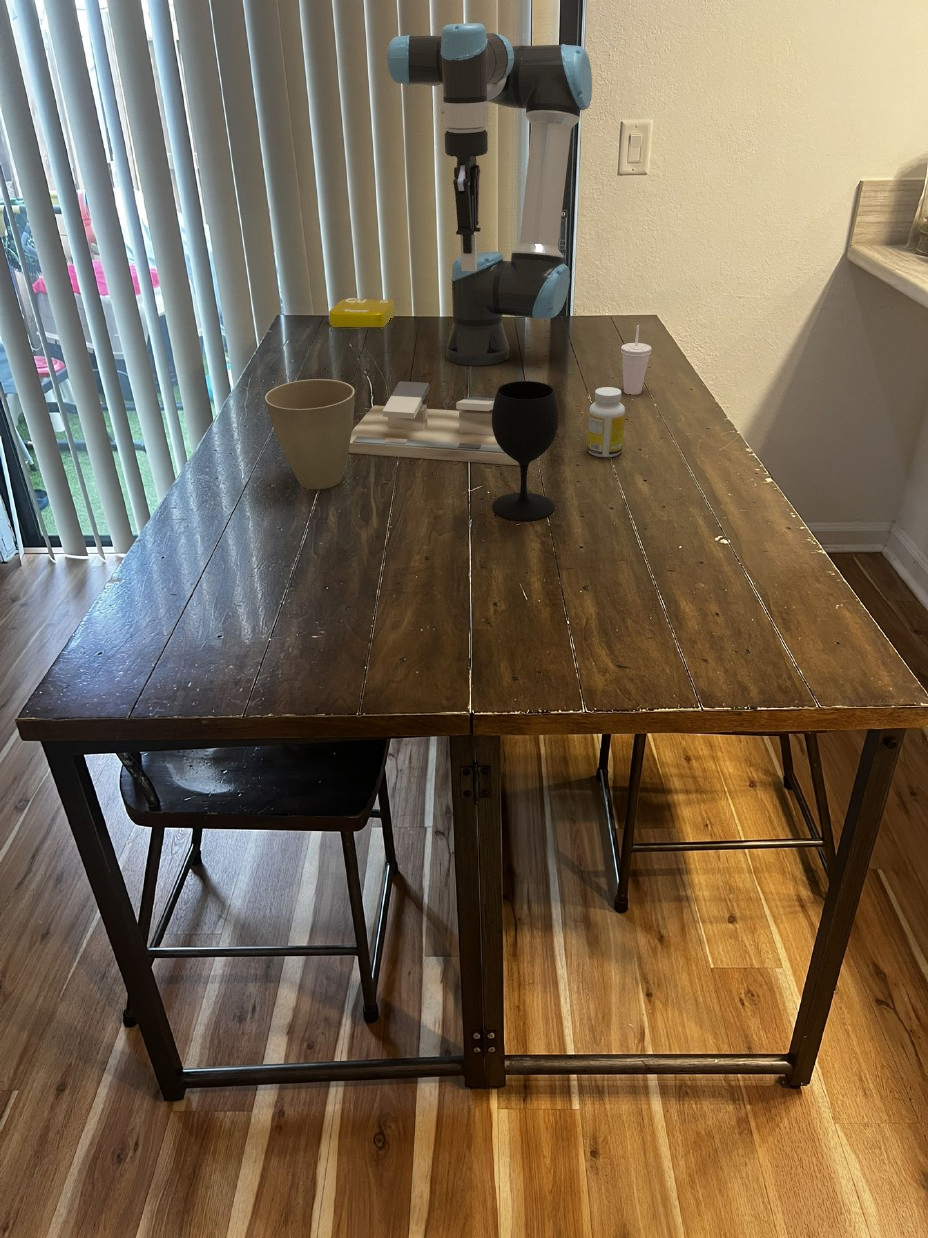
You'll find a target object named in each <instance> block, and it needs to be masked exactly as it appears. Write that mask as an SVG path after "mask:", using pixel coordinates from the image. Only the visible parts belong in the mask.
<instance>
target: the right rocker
mask: <svg viewBox="0 0 928 1238" xmlns="http://www.w3.org/2000/svg"><path fill="white" fill-rule="evenodd" d="M494 400H495V397H484V396H483V397H481V396H468V397H466V398H463V399H461V400H459V401H457V402H456V404H455V405H456V407H455V409H456V410H461V409H462V410H478V411H490V410H493V404H494Z"/></svg>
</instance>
